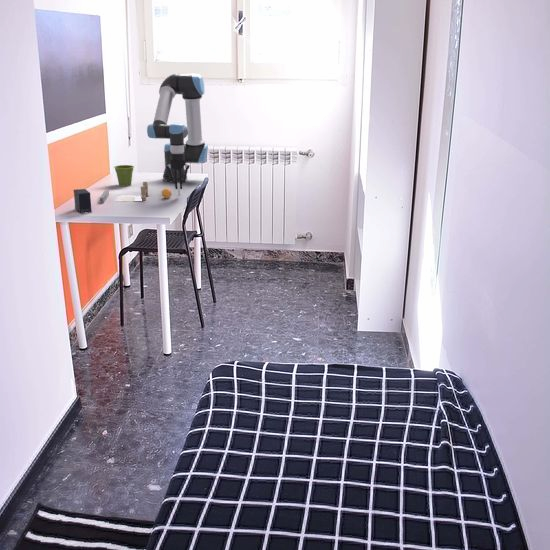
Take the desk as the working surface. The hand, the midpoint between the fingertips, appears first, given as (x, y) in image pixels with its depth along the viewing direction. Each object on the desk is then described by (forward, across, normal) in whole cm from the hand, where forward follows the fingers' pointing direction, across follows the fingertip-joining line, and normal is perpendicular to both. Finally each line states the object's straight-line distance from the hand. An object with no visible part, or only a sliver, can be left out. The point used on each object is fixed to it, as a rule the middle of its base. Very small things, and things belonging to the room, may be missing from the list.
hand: (179, 194), depth 372 cm
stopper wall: (+2, -41, +1) cm, 41 cm away
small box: (+2, -49, -24) cm, 54 cm away
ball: (-1, -7, 0) cm, 7 cm away
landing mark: (+2, -27, +1) cm, 27 cm away
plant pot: (+2, -33, +36) cm, 49 cm away
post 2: (+2, -19, -6) cm, 20 cm away
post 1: (+2, -19, +7) cm, 20 cm away
